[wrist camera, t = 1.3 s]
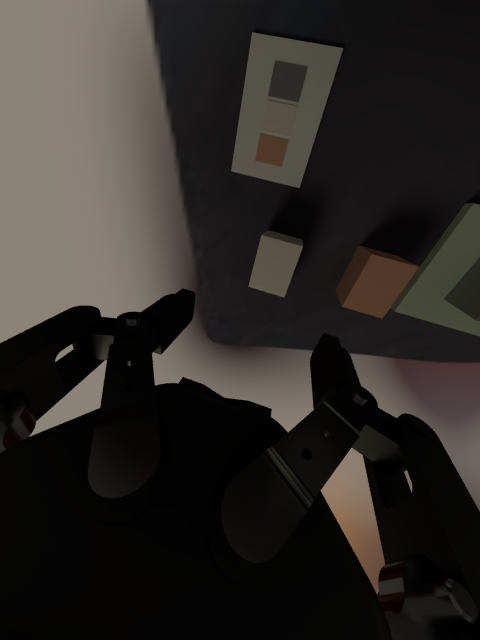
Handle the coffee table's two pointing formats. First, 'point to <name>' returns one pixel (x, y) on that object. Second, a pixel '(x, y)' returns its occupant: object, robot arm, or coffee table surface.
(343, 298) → the brick terracotta
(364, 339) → the coffee table surface
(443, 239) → the baseplate
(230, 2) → the coffee table surface
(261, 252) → the brick cream
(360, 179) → the coffee table surface
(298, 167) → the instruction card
